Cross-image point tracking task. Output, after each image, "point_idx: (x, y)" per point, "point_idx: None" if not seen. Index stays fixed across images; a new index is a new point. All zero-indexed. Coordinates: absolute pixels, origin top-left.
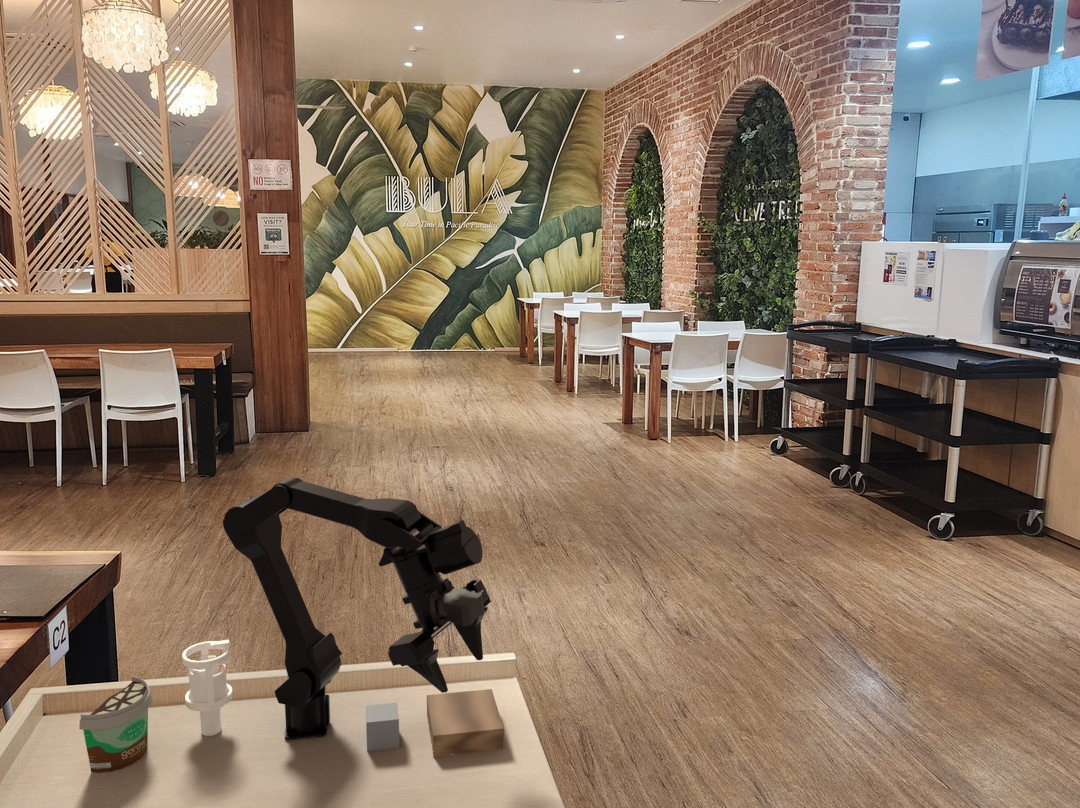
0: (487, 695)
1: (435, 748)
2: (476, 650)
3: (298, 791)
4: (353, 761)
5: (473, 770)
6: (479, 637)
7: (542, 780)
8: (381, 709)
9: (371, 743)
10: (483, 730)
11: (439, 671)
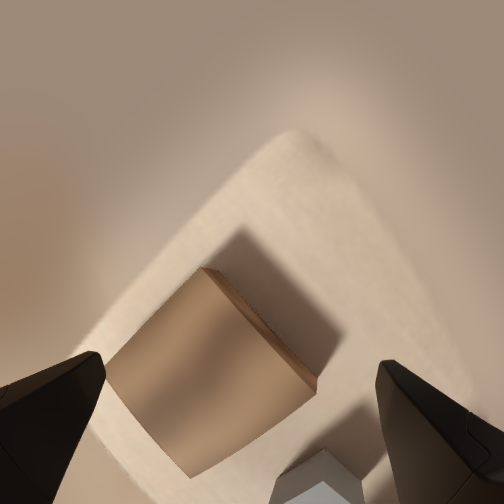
0: (120, 368)
1: (313, 380)
2: (77, 386)
3: None
4: None
5: (311, 281)
6: (17, 388)
7: (263, 153)
8: None
9: (357, 484)
10: (232, 303)
11: (448, 423)
